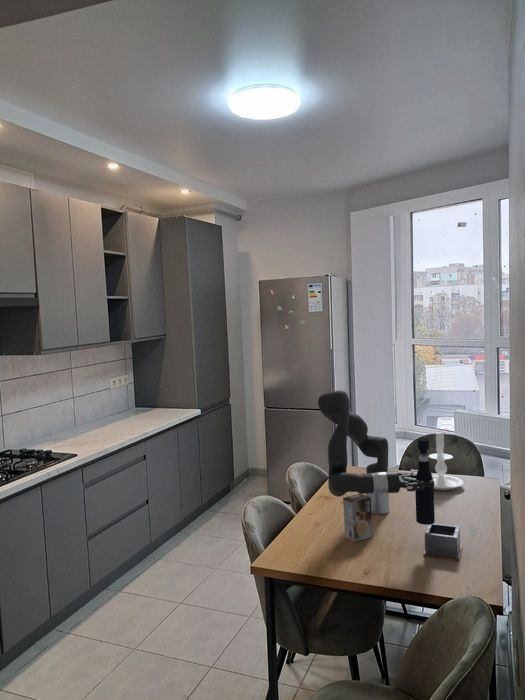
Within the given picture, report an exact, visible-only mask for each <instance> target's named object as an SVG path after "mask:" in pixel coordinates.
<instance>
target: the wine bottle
mask: <svg viewBox="0 0 525 700" xmlns="http://www.w3.org/2000/svg"><path fill="white" fill-rule="evenodd" d="M417 449H418V450H419V456H418V461H417V462H418V465H417V466H418V469H417V470H418V471H417V472H416V473H415V474H416V479H417V480H422V481H424V480H433V477H432V475H433V474H432V472H431V468H430V460H429V459H430V457H429V455H428V450H429V449H430V439H429V438H423V437H422V438H421V437H420V438H417ZM418 486H420V485H418ZM414 492H415V521H416V522H417V524H420V525H426V526H428V525H430V524H433V523H435V517H436V516H435V489H434V487H424V490H417V491H414Z"/></svg>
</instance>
